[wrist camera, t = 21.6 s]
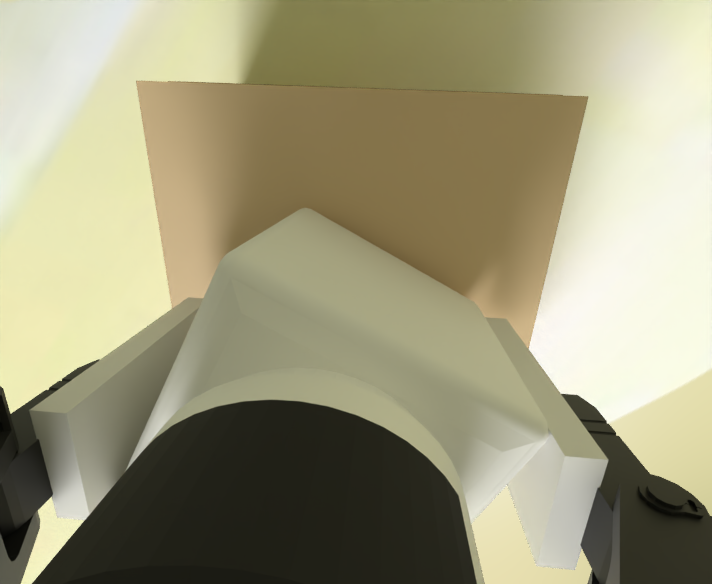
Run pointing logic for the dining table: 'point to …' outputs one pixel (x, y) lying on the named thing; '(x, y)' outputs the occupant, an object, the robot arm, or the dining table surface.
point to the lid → (366, 178)
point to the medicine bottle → (316, 429)
